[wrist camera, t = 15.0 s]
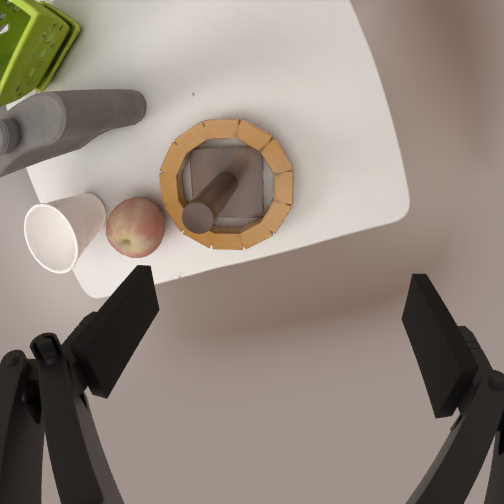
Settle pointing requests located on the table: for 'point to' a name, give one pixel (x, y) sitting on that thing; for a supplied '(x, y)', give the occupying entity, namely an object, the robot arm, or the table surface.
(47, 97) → the flask
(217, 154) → the peg stand
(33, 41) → the flower pot
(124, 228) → the apple
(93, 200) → the cup
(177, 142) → the hoop
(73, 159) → the table surface
